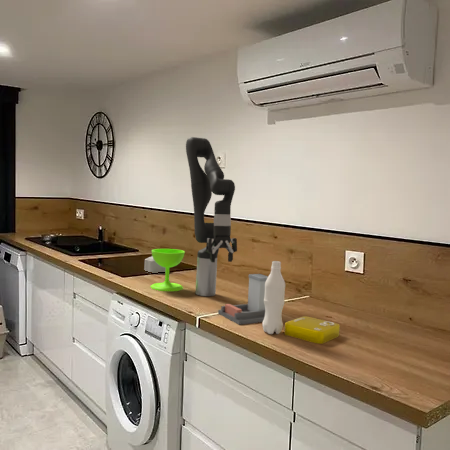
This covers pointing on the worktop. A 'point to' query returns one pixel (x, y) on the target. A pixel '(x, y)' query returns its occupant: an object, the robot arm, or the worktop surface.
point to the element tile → (312, 329)
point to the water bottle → (274, 300)
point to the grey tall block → (256, 292)
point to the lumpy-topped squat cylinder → (153, 266)
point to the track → (241, 314)
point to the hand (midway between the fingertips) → (221, 261)
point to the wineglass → (167, 267)
